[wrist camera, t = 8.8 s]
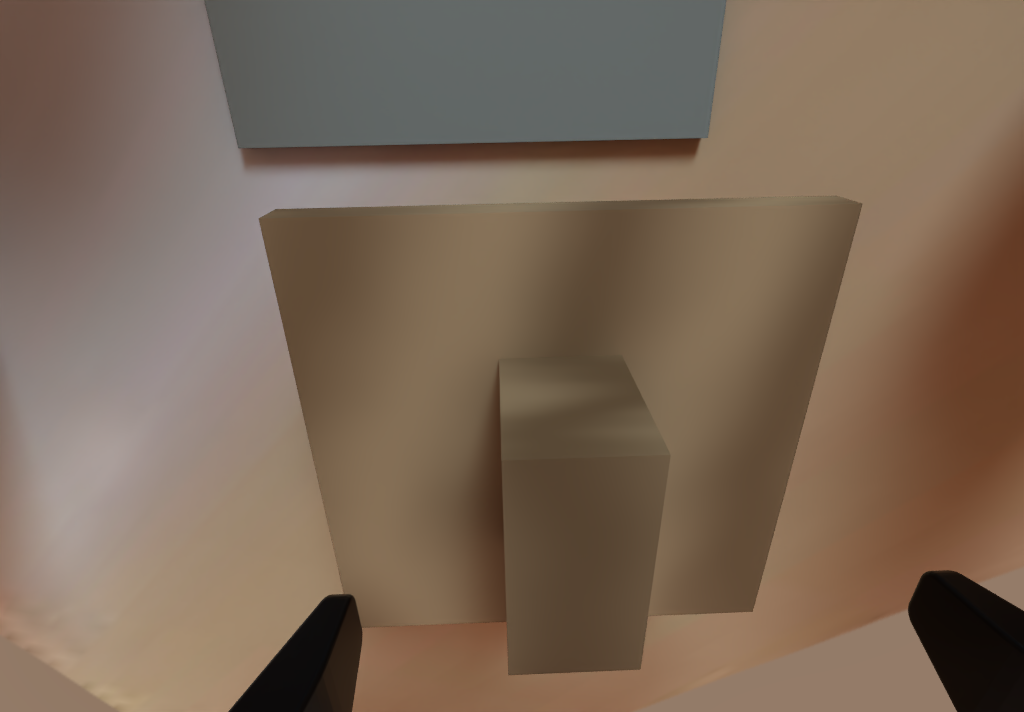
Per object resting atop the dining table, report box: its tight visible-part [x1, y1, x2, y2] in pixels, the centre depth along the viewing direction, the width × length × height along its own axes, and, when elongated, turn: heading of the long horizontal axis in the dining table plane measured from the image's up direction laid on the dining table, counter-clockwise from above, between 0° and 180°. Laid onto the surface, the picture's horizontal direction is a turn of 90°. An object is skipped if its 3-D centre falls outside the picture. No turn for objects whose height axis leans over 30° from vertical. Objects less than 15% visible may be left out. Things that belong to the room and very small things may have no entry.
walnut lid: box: [259, 196, 862, 675], centre depth 13 cm, size 13×13×5 cm
